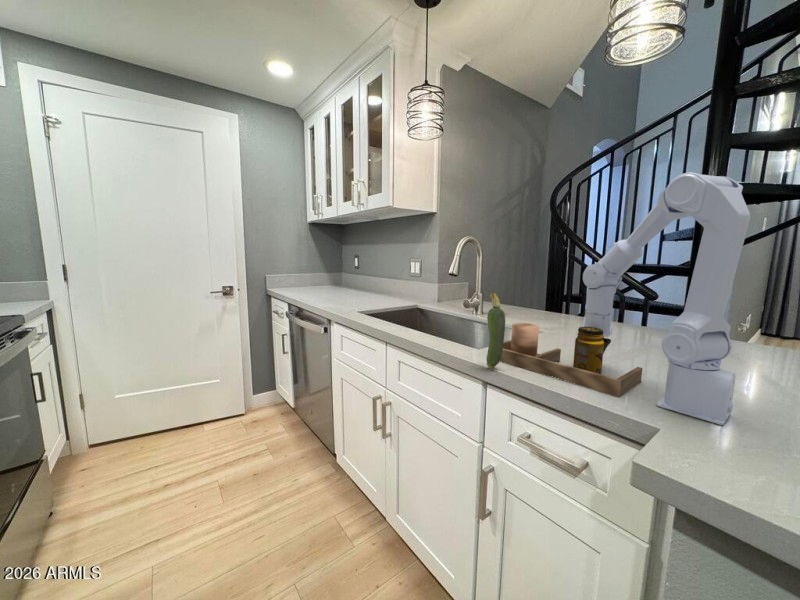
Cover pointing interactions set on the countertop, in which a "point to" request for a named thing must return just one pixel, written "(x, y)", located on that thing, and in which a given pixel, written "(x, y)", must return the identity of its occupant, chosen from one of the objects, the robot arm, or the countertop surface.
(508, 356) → the caddy
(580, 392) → the countertop surface
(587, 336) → the condiment
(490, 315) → the vegetable
